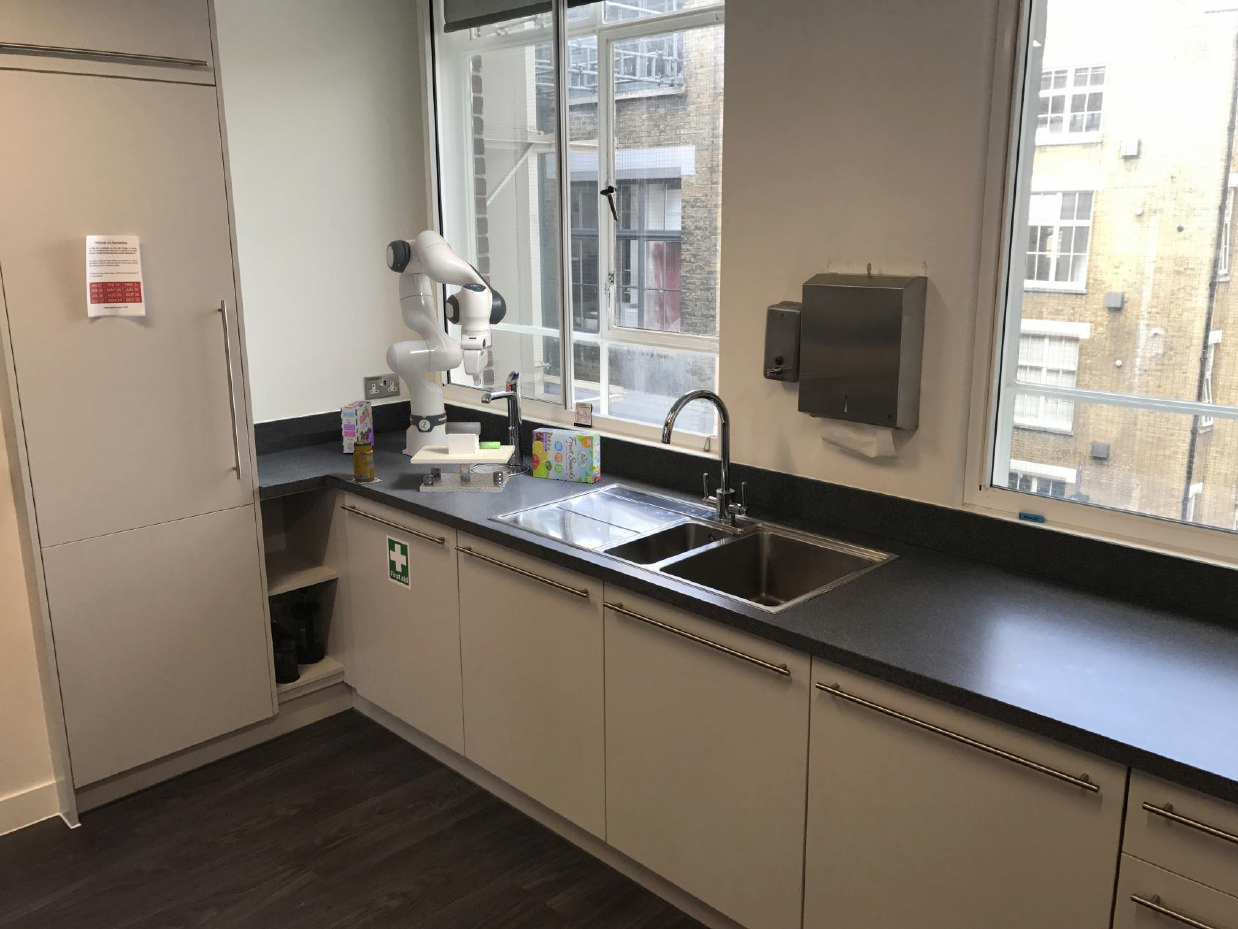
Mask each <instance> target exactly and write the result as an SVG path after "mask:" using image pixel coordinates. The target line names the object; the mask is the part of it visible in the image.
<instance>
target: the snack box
mask: <svg viewBox="0 0 1238 929" xmlns="http://www.w3.org/2000/svg"><path fill="white" fill-rule="evenodd" d="M531 434H532V476H533V477H534V478H539V479H547V480H548V479H549V480H557V479H559V481H565V480H567V481H566V482H577V483H583V482H588V483H587V484H592V483H593V484H595V483H597V482H599V481H600V480H601V433H600V432H591V431H582V430H580V431H579V430H572V429H571V430H570V429H568V430H567V429H558V428H547V427H539V428H537V429H534V430H532V432H531ZM599 479H600V480H599ZM598 480H599V481H598ZM594 482H595V483H594Z"/></svg>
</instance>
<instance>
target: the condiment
mask: <svg viewBox="0 0 1238 929" xmlns="http://www.w3.org/2000/svg"><path fill="white" fill-rule="evenodd" d="M372 448H373V447H371V442H370V441H356V442H354V451H353V454H352V460H353V461H352V462H353V475H354V476H353V478H351V479H355V480H350V481H352V482H354V483H356V484H360V485H366V484H372V483H373V484H374V483H378V482H383V480H382V479H380V478H377V477H375V464H374V461H375V460H374V451H373V449H372ZM374 477H375V479H377V480H374ZM358 482H360V483H358ZM361 482H368V483H361Z"/></svg>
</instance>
